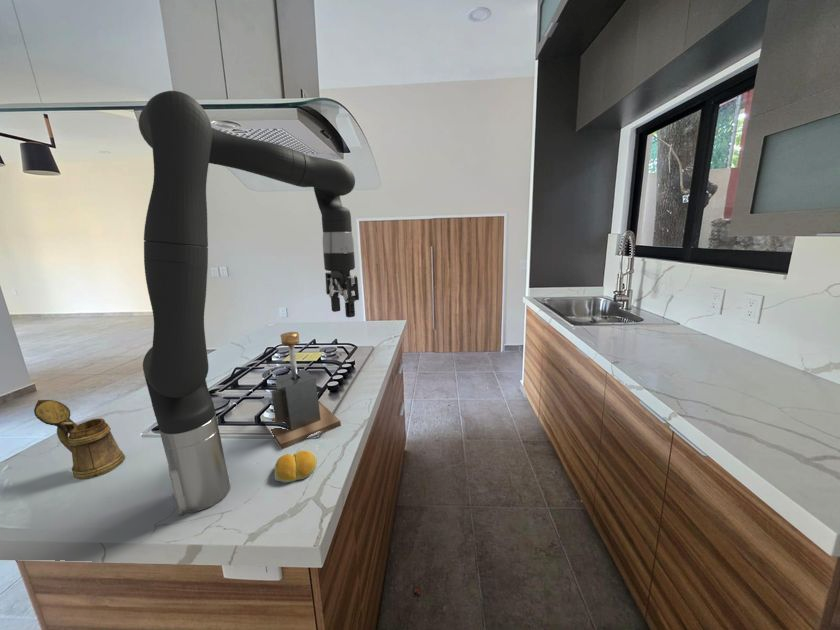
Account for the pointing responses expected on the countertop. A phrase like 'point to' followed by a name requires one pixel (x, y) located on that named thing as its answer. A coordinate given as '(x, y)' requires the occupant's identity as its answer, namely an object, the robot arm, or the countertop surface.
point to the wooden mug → (82, 440)
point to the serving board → (305, 429)
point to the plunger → (291, 349)
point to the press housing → (296, 400)
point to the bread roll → (295, 466)
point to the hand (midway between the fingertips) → (343, 314)
